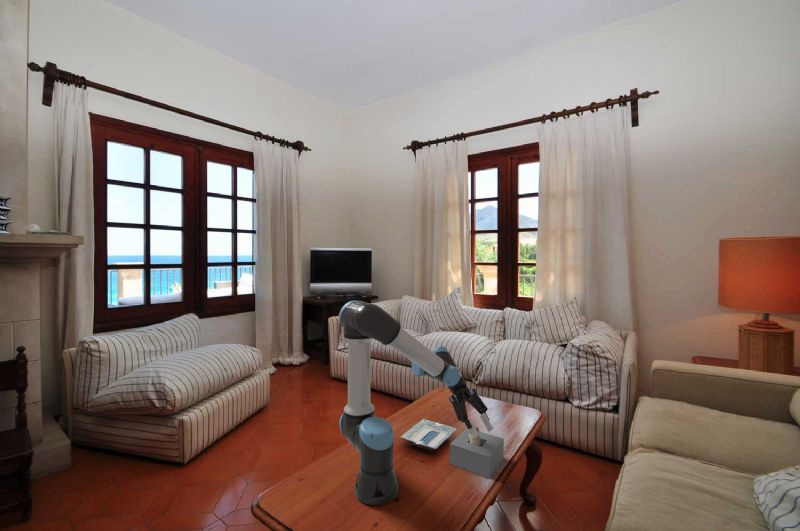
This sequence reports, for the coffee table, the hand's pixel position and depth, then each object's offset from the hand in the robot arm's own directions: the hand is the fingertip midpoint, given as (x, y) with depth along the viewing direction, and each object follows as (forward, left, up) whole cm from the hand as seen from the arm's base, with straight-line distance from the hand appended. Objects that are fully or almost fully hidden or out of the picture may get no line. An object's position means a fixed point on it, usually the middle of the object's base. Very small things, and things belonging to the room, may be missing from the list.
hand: (483, 433), depth 136 cm
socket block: (+1, +3, -13) cm, 13 cm away
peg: (+1, +3, -11) cm, 12 cm away
